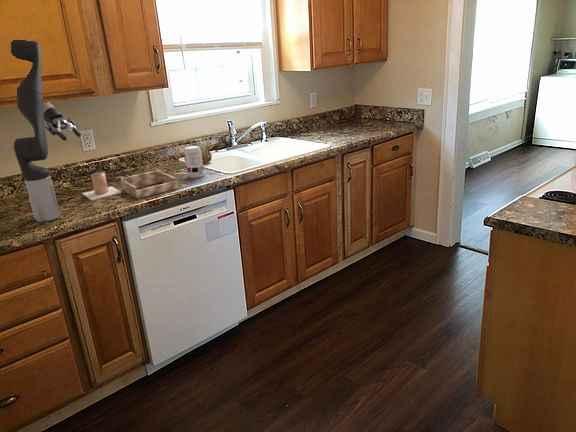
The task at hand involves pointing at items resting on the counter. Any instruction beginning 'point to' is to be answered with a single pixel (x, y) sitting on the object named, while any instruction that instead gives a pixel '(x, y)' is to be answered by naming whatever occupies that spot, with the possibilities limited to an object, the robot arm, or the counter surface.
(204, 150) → the tin
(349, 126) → the counter surface
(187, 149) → the supplement can
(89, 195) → the tile
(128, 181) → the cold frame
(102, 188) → the pot
